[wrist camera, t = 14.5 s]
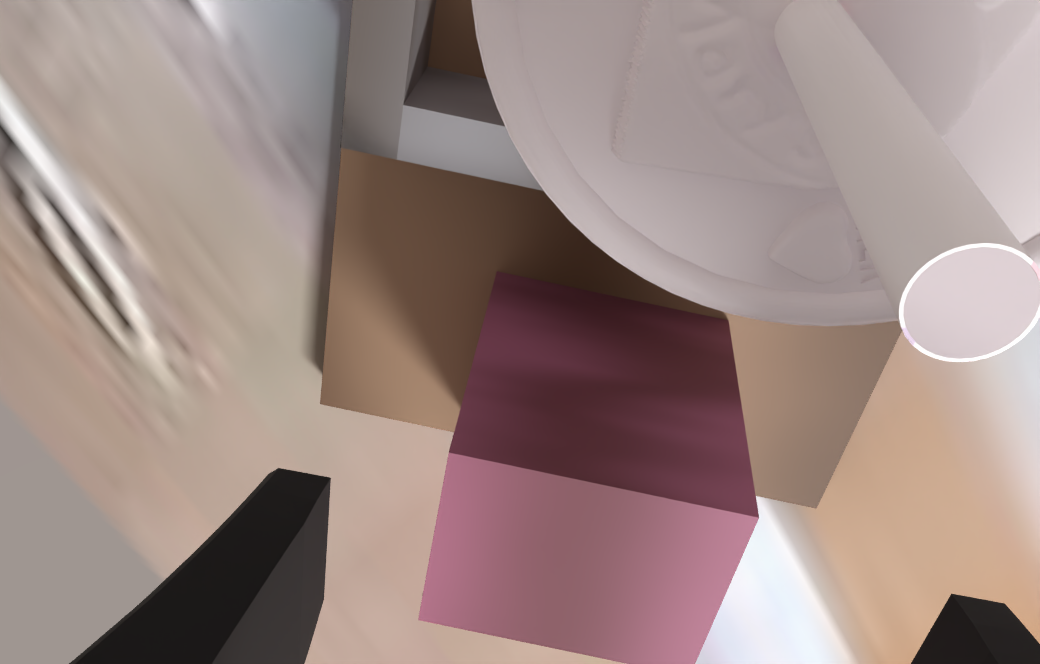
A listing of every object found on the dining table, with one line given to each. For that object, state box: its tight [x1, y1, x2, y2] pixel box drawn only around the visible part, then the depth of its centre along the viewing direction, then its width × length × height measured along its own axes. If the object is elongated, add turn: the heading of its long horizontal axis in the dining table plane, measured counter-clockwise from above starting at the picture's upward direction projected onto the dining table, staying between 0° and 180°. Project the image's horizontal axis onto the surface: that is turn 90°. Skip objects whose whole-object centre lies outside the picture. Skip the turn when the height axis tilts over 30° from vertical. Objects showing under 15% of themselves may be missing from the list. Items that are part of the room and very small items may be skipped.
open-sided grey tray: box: [320, 0, 902, 664], centre depth 15 cm, size 12×20×7 cm, turn 170°
